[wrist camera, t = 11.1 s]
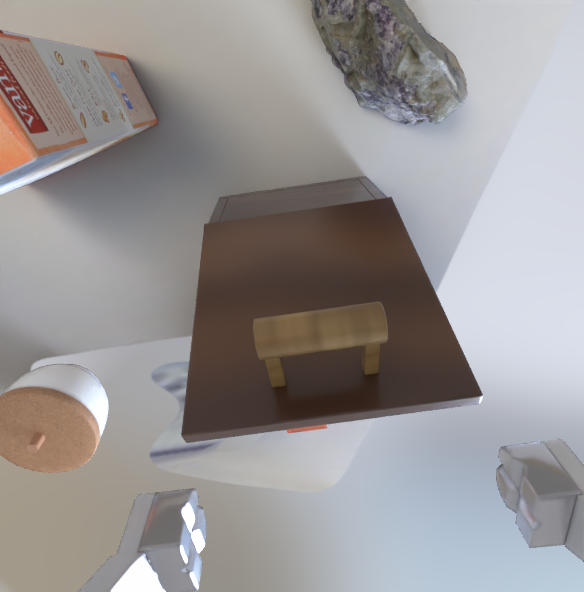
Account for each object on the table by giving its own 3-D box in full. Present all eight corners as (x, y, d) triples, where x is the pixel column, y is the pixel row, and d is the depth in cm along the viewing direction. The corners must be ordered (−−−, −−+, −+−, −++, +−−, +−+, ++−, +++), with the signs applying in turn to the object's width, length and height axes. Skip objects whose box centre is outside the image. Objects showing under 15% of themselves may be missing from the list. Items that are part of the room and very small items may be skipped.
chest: (373, 321, 46) (394, 370, 38) (249, 338, 47) (245, 390, 39) (365, 175, 39) (389, 199, 31) (219, 197, 39) (206, 226, 32)
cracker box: (123, 49, 34) (-59, 7, 15) (161, 124, 36) (46, 167, 18) (-21, 120, 36) (-342, 160, 17) (25, 186, 38) (-209, 285, 20)
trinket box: (75, 330, 45) (30, 386, 37) (140, 396, 50) (114, 460, 41) (3, 374, 47) (-55, 436, 39) (72, 433, 52) (33, 501, 43)
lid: (480, 404, 19) (508, 334, 16) (185, 443, 20) (146, 384, 16) (390, 205, 31) (395, 139, 27) (206, 232, 31) (187, 170, 28)
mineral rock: (300, -31, 32) (311, -76, 23) (440, -75, 31) (508, -139, 22) (334, 142, 38) (354, 161, 29) (454, 109, 37) (512, 118, 28)
